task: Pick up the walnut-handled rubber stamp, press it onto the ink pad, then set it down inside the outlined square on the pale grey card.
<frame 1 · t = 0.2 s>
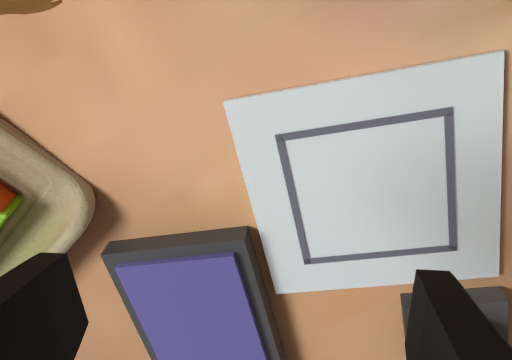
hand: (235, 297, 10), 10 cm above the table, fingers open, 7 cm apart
ink pad: (205, 311, 24), on the table
card sheet: (369, 192, 19), on the table
stamp: (451, 323, 22), on the table
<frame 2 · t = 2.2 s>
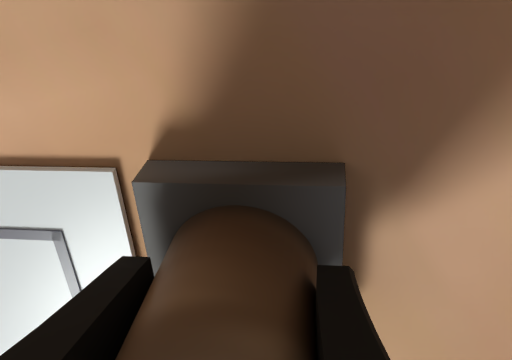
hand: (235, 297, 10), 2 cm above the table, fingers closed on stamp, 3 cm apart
stamp: (249, 241, 11), on the table, touching gripper
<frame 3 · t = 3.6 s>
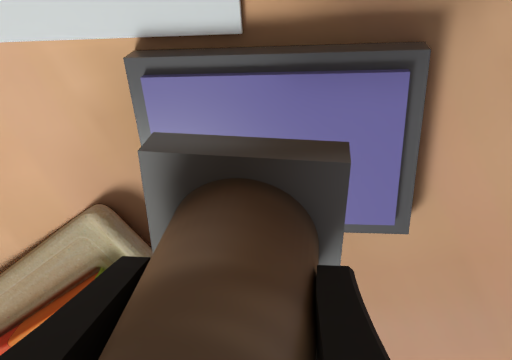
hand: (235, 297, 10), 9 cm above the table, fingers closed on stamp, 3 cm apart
ink pad: (276, 139, 18), on the table
stamp: (249, 218, 11), point 7 cm above the table, touching gripper
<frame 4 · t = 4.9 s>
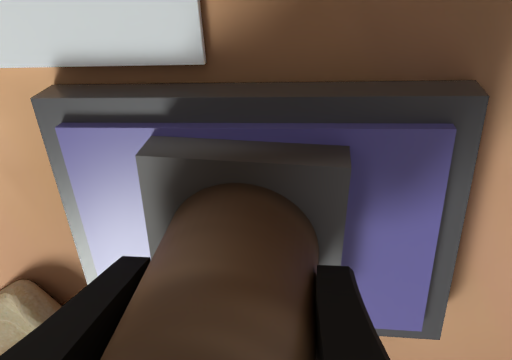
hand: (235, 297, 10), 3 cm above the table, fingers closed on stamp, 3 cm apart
ink pad: (257, 207, 13), on the table
stamp: (249, 222, 11), point 1 cm above the table, touching gripper, ink pad
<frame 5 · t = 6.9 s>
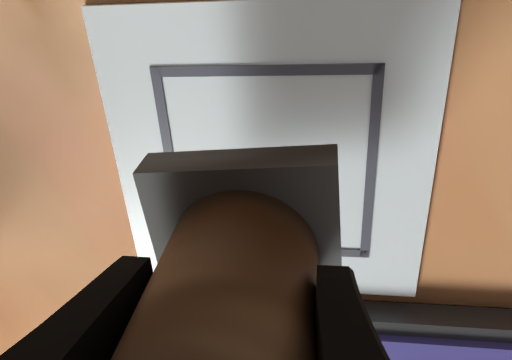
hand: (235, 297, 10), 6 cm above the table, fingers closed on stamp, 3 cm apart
card sheet: (268, 166, 15), on the table
stamp: (250, 227, 12), point 4 cm above the table, touching gripper
when the fingers open (2 cm above the table, at t = 7.9 s): stamp stays where it is, resting on card sheet.
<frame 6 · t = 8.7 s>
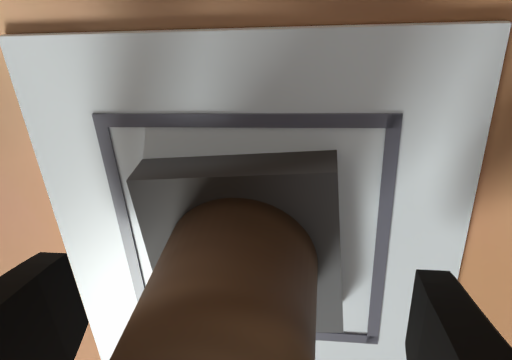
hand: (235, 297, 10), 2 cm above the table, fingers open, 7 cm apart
card sheet: (250, 234, 12), on the table
stamp: (248, 235, 11), resting on card sheet
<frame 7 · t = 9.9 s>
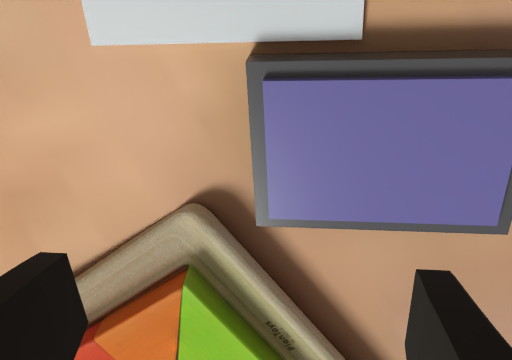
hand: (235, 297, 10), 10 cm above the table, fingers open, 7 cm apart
ink pad: (381, 142, 18), on the table
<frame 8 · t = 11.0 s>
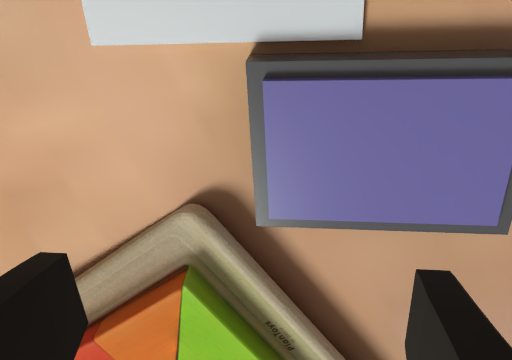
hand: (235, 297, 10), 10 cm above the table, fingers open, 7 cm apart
ink pad: (381, 142, 18), on the table
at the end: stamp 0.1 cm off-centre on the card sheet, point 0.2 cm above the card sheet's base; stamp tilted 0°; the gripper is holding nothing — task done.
